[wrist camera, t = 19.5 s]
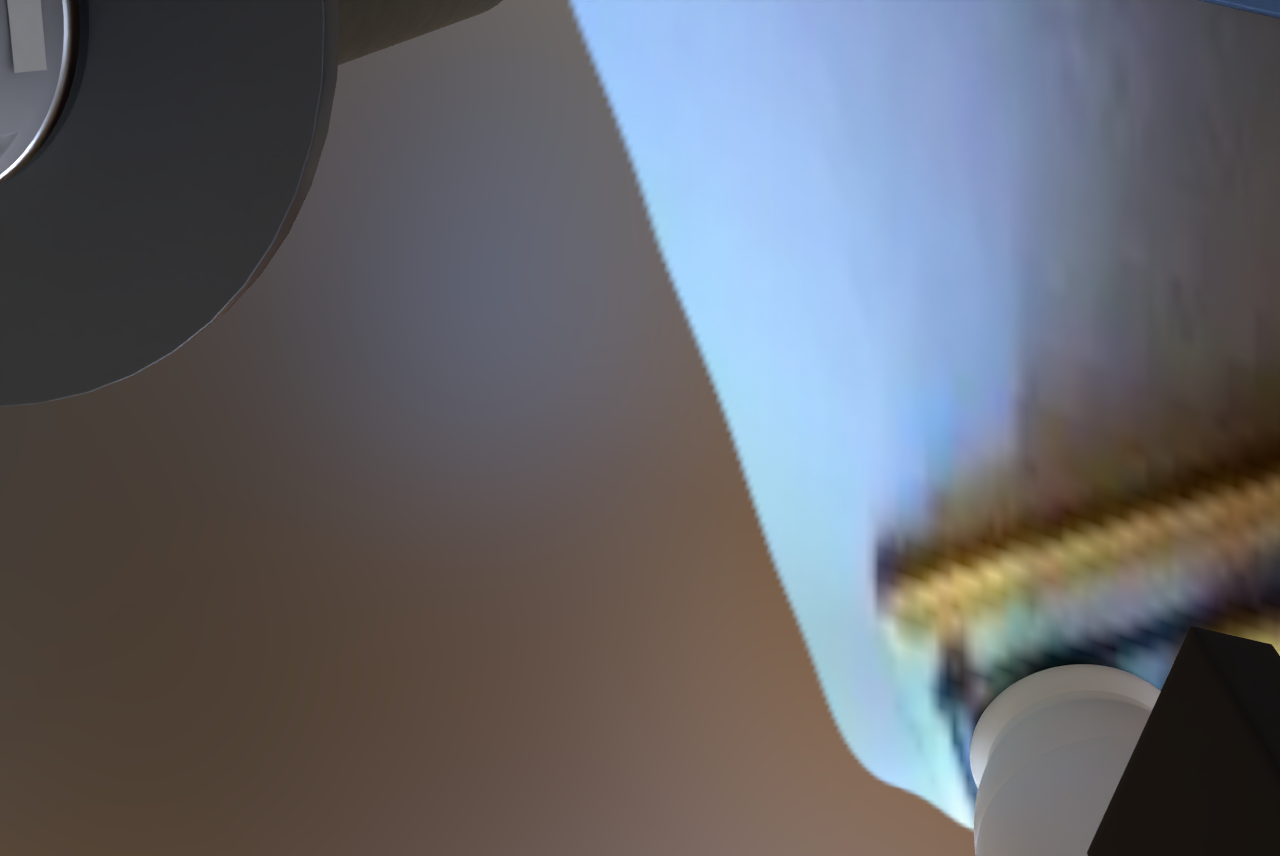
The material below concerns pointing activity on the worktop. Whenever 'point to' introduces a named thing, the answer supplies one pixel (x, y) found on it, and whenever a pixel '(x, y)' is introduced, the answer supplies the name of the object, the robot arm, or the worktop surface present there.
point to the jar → (1054, 758)
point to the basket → (1252, 6)
